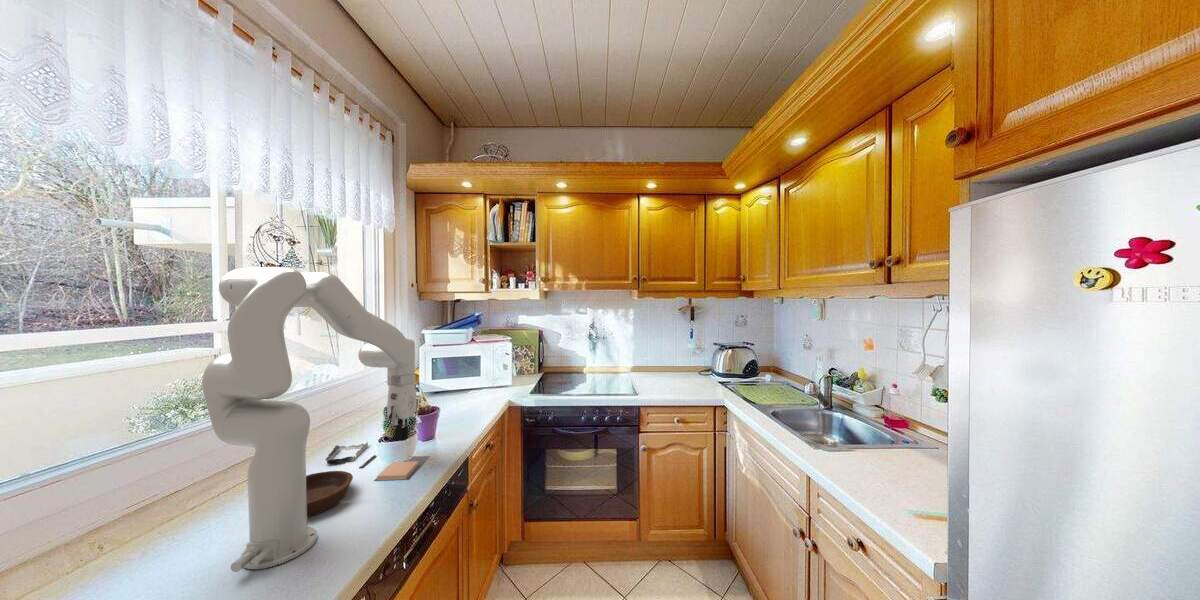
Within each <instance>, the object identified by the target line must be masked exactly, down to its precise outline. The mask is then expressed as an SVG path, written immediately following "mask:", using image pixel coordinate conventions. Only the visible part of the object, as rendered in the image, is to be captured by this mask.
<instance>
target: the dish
mask: <svg viewBox="0 0 1200 600" xmlns="http://www.w3.org/2000/svg"><path fill="white" fill-rule="evenodd" d="M353 478H354V476H353V474H352V473H350V472H348V471H344V470H330V471H321V472H315V473H311V474H306V488H307V518H308V517H313V516H315V515H319V514H321V513H324V512H325V511H328V510H330V509H331V508H333V507H335V506H336V505H338V504H339V503H340V502H341V501H342V500H344V498H345V496H347V493H348V490H349V488H350V484H352V481H353Z"/></svg>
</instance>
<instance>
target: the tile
mask: <svg viewBox="0 0 1200 600" xmlns="http://www.w3.org/2000/svg"><path fill="white" fill-rule="evenodd" d="M418 465H419V461H412V462H394V461H391V462H390V463H389V465H387V466H386V467H385V468H384V469H383V470H382V471H381V472H379V474H378V475H377V477H376V478H377V480H394V481H399V480H398V479H407V477H408V476H409V475H410V474H411V473H412V472H413V471H414V470H415V469H416V468H417V466H418Z"/></svg>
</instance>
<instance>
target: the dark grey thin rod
mask: <svg viewBox="0 0 1200 600" xmlns="http://www.w3.org/2000/svg"><path fill="white" fill-rule="evenodd" d="M377 457H378V456H377V455H376V454H374V455H373V456H371V457H370V458H369V459H368V460H366V461H365V462H364V463H362V464H361V465H360V466H359V467H358V469H359V470H361V469H364V468H366V466H368V465H369V464H370V463H372V462H373V460H375V459H376V458H377Z"/></svg>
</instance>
